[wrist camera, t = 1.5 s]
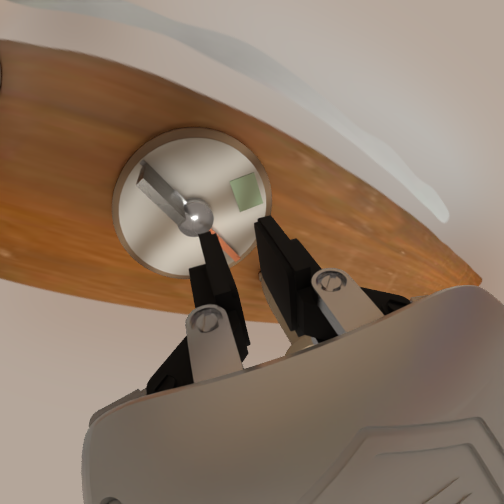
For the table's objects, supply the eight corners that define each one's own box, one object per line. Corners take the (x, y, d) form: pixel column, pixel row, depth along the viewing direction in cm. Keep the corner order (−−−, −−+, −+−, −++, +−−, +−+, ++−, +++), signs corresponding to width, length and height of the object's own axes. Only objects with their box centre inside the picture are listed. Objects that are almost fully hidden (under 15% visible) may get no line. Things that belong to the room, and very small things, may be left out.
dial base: (292, 207, 34) (301, 216, 32) (187, 291, 37) (189, 304, 35) (202, 93, 25) (206, 93, 23) (84, 206, 27) (79, 216, 25)
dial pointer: (249, 246, 32) (263, 274, 28) (224, 266, 33) (235, 295, 29) (158, 151, 24) (156, 165, 20) (130, 177, 25) (123, 197, 20)
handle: (277, 292, 41) (322, 375, 29) (240, 279, 38) (279, 371, 26) (297, 266, 40) (351, 346, 27) (260, 250, 36) (310, 338, 24)
